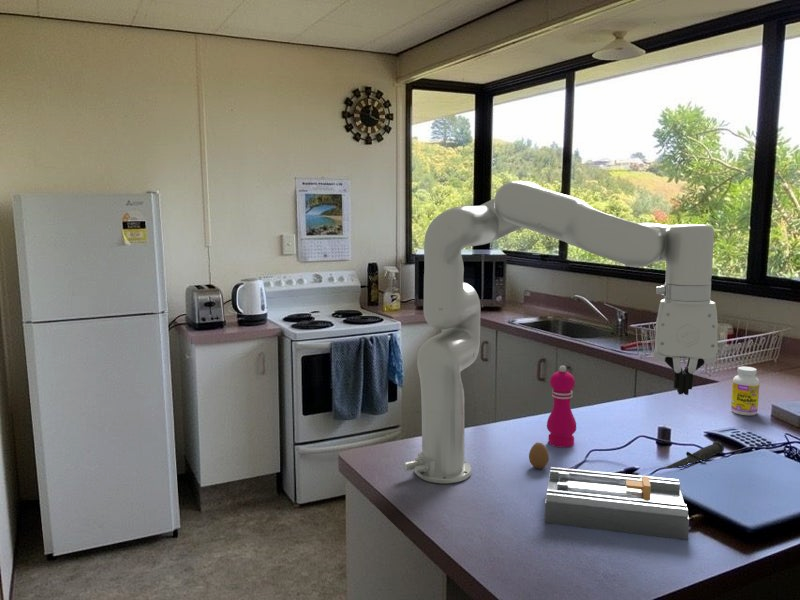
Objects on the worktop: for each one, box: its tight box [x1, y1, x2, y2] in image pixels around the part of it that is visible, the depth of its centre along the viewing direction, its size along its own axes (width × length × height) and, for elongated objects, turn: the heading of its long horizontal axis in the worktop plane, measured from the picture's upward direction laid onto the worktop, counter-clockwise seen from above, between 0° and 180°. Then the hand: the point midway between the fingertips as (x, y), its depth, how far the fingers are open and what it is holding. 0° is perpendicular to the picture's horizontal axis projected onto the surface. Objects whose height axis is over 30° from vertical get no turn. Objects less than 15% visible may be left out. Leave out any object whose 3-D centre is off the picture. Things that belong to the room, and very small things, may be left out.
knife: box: [663, 440, 725, 468], centre depth 148 cm, size 24×5×3 cm, turn 118°
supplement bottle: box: [730, 365, 761, 417], centre depth 180 cm, size 7×7×13 cm
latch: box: [626, 475, 651, 500], centre depth 122 cm, size 4×4×3 cm
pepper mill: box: [546, 365, 577, 448], centre depth 159 cm, size 7×7×20 cm
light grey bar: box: [561, 479, 642, 499], centre depth 124 cm, size 15×3×1 cm, turn 74°
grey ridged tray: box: [544, 466, 690, 541], centre depth 124 cm, size 25×14×6 cm, turn 74°
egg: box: [528, 442, 550, 470], centre depth 146 cm, size 4×4×6 cm
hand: (682, 392), depth 117 cm, fingers closed
